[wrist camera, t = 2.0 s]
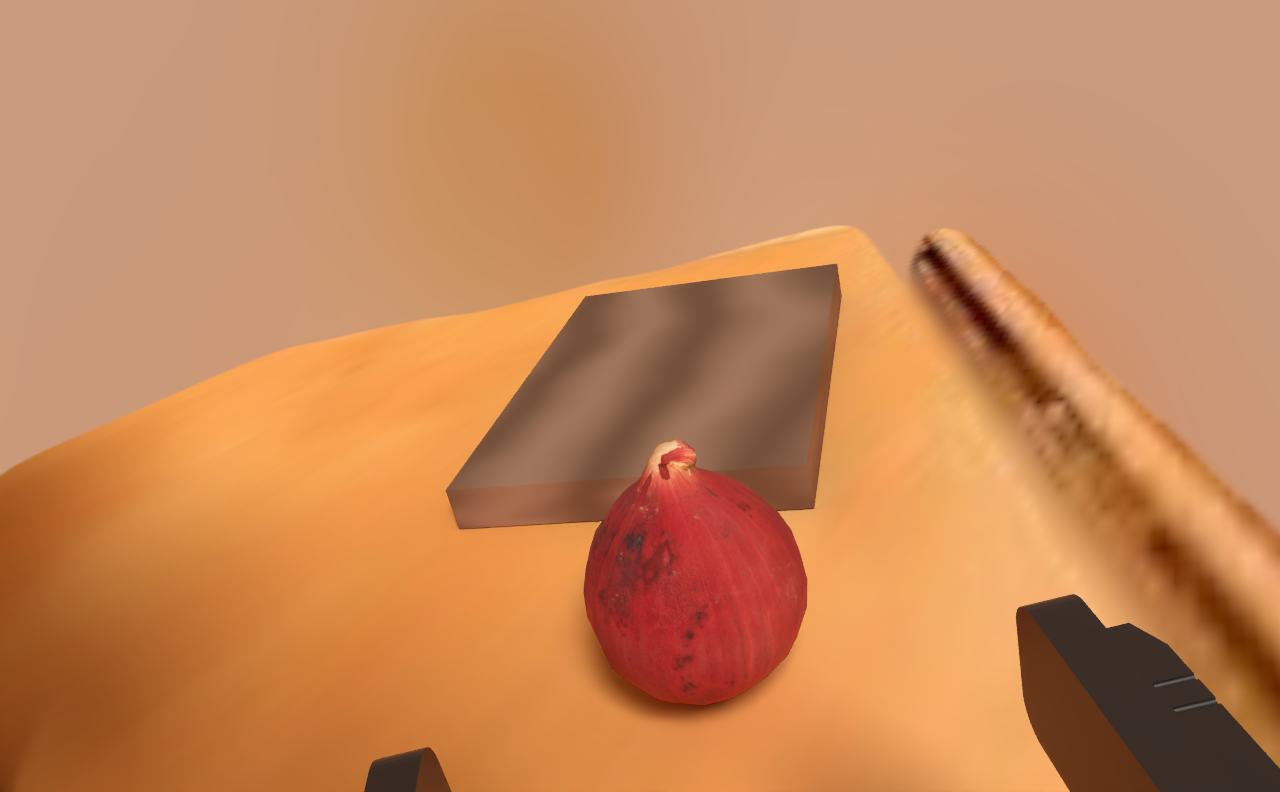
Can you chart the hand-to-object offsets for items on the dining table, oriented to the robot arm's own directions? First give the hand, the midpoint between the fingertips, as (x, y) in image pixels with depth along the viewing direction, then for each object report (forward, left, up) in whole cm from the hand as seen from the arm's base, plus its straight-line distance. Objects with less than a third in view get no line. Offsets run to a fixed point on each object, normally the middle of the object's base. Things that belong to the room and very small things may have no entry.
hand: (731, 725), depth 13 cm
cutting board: (-9, +30, -10) cm, 33 cm away
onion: (-4, +11, -10) cm, 15 cm away
